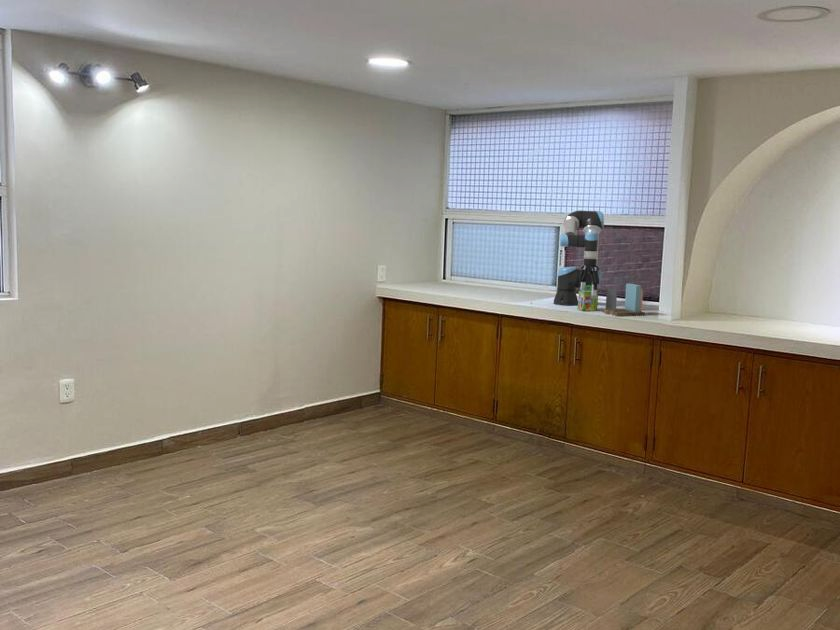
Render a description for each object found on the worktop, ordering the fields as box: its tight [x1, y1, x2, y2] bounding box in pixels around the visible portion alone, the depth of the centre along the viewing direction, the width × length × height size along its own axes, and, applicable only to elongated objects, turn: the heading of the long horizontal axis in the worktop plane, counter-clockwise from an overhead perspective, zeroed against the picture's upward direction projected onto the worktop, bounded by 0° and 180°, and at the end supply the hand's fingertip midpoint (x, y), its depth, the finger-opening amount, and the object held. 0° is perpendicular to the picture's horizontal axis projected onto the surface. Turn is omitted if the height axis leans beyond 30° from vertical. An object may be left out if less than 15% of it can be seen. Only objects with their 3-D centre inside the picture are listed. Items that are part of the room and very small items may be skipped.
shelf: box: [602, 308, 646, 317], centre depth 466 cm, size 16×18×2 cm
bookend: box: [605, 288, 618, 312], centre depth 463 cm, size 10×1×12 cm, turn 17°
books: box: [624, 283, 644, 312], centre depth 467 cm, size 11×5×15 cm, turn 17°
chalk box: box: [577, 285, 599, 312], centre depth 477 cm, size 9×9×15 cm
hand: (588, 294), depth 476 cm, fingers open, 13 cm apart
